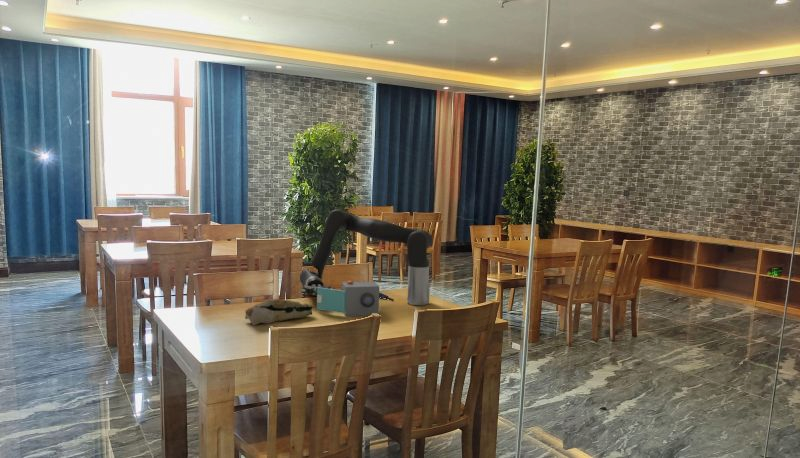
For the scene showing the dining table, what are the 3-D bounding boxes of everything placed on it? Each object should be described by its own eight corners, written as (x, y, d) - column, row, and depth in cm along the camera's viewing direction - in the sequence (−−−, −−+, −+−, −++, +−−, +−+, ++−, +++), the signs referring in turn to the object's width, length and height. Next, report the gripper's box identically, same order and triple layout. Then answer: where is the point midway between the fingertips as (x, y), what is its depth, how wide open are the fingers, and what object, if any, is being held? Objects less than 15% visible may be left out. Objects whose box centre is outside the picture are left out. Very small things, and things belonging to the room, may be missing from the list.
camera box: (373, 308, 237) (374, 279, 236) (379, 315, 226) (380, 284, 225) (341, 309, 234) (341, 279, 232) (345, 317, 222) (346, 285, 221)
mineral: (308, 293, 226) (319, 301, 218) (304, 314, 228) (315, 323, 220) (245, 295, 210) (255, 305, 202) (242, 318, 212) (252, 328, 204)
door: (318, 308, 229) (318, 287, 228) (344, 312, 224) (345, 290, 223) (315, 309, 228) (316, 287, 227) (342, 313, 222) (343, 291, 221)
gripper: (299, 277, 246) (303, 285, 230) (329, 277, 250) (334, 284, 233) (299, 294, 247) (303, 303, 230) (329, 293, 250) (334, 302, 234)
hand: (318, 293), depth 232 cm, fingers closed
